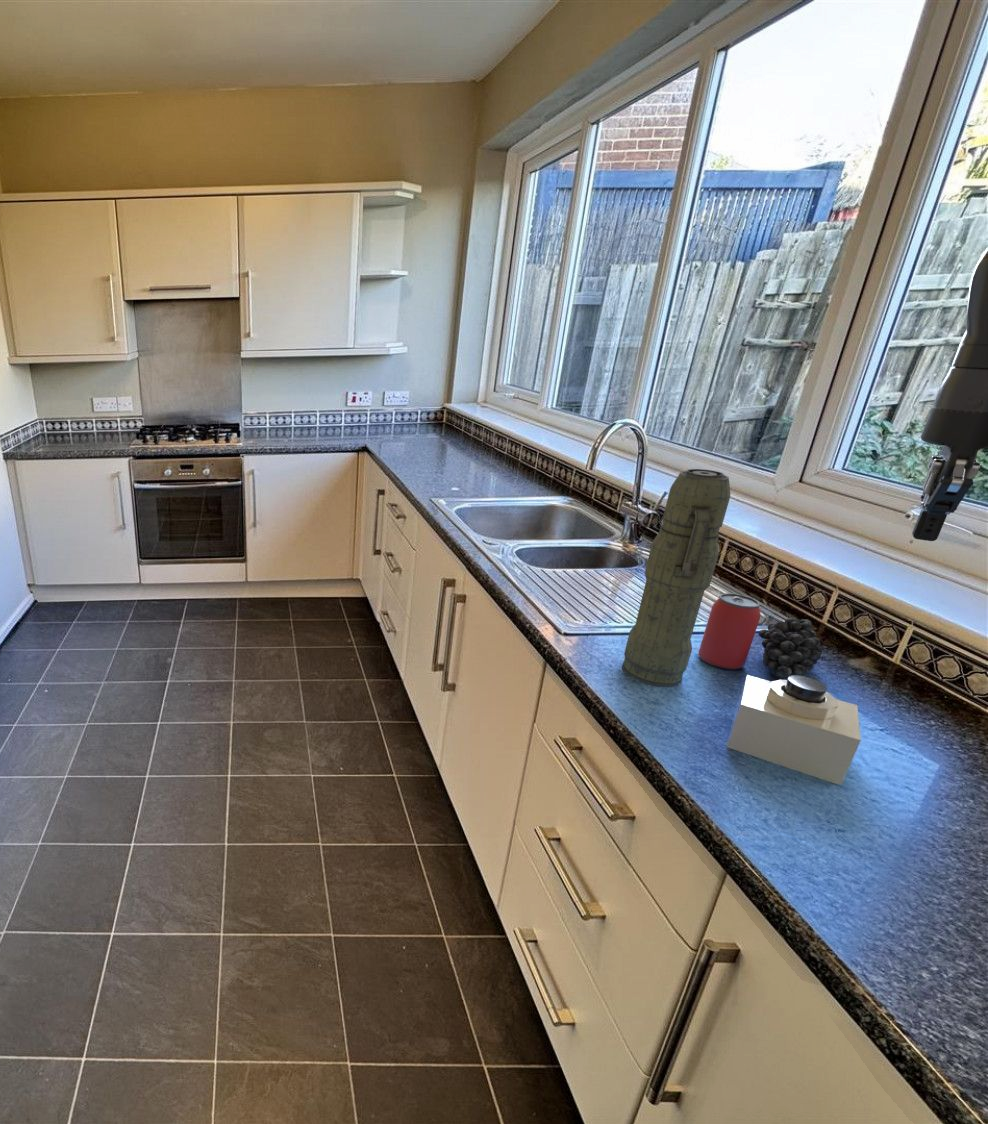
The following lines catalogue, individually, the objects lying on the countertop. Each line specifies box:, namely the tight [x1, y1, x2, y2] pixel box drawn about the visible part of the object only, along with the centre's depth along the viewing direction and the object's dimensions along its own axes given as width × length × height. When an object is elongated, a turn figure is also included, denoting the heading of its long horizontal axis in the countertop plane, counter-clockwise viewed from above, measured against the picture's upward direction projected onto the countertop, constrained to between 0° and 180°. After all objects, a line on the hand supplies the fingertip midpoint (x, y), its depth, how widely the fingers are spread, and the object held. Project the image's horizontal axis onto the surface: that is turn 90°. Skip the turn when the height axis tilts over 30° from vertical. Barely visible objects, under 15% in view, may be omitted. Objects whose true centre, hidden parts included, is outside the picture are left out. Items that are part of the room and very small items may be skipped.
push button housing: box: [726, 674, 862, 786], centre depth 85 cm, size 12×10×9 cm
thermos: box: [621, 468, 731, 688], centre depth 99 cm, size 9×12×35 cm
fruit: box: [758, 617, 823, 680], centre depth 104 cm, size 9×8×15 cm
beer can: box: [698, 592, 761, 670], centre depth 106 cm, size 7×7×12 cm
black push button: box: [783, 675, 828, 703], centre depth 83 cm, size 4×4×2 cm
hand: (923, 538), depth 82 cm, fingers closed
